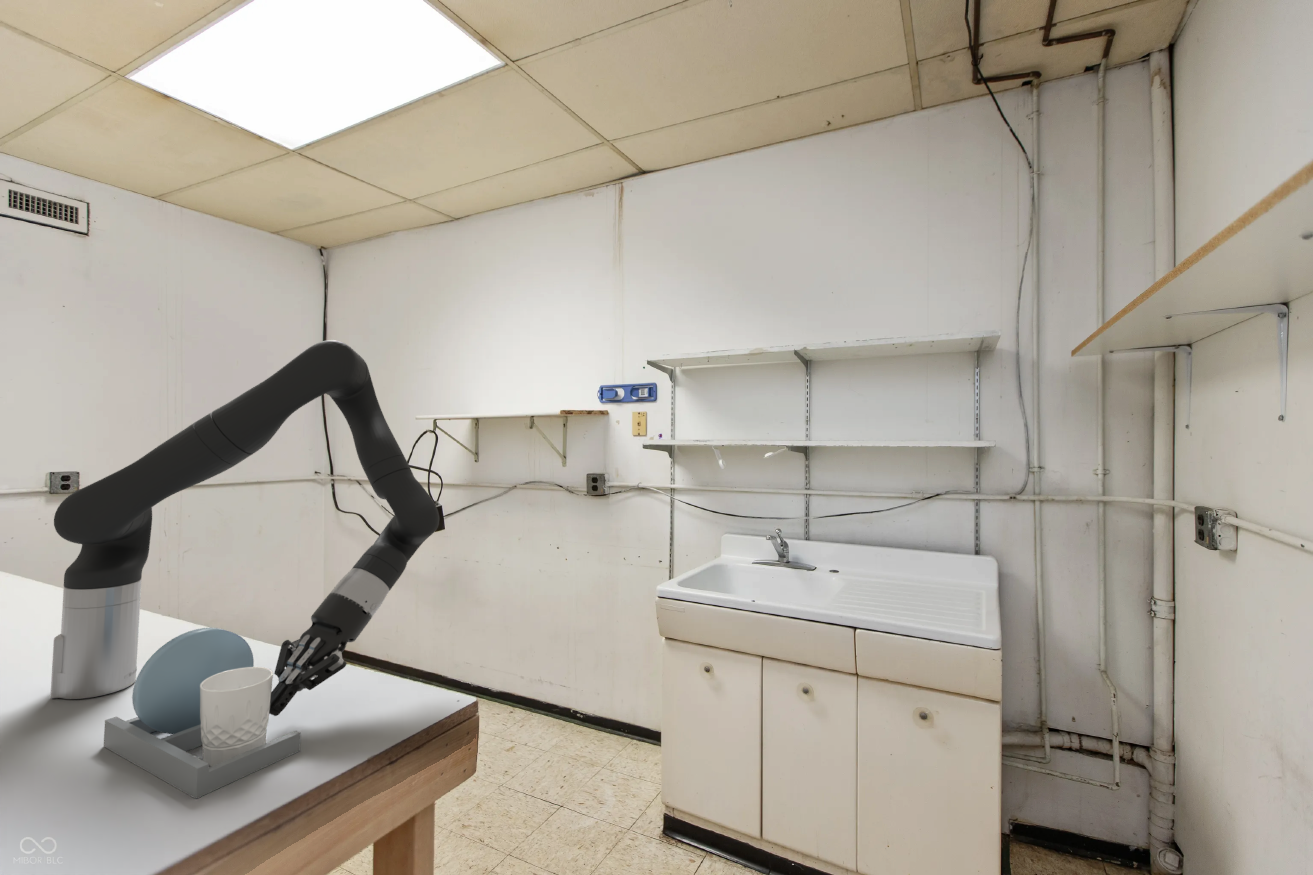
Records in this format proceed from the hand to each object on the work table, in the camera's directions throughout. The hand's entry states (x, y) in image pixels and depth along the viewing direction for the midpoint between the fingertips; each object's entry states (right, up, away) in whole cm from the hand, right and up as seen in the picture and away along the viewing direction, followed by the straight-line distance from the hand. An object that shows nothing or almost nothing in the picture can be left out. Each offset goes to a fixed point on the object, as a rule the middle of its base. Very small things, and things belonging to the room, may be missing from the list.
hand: (268, 712), depth 80 cm
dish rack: (-6, -4, -1) cm, 7 cm away
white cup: (-2, -4, -4) cm, 6 cm away
